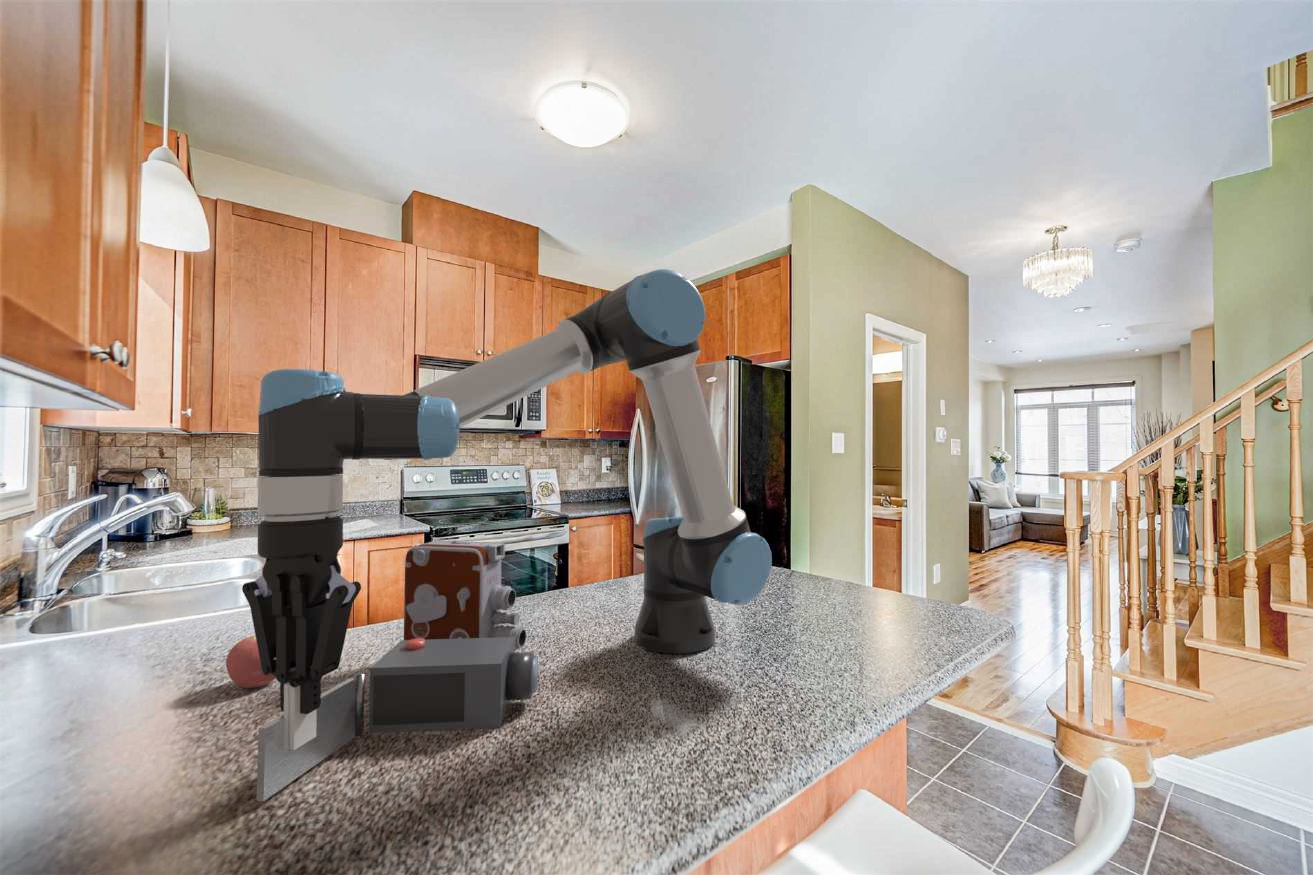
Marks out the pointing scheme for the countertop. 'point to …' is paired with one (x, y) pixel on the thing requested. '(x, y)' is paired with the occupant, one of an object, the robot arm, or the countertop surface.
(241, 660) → the apple
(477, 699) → the camera block
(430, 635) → the cine camera
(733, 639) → the countertop surface
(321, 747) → the side door
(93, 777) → the countertop surface
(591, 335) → the robot arm
